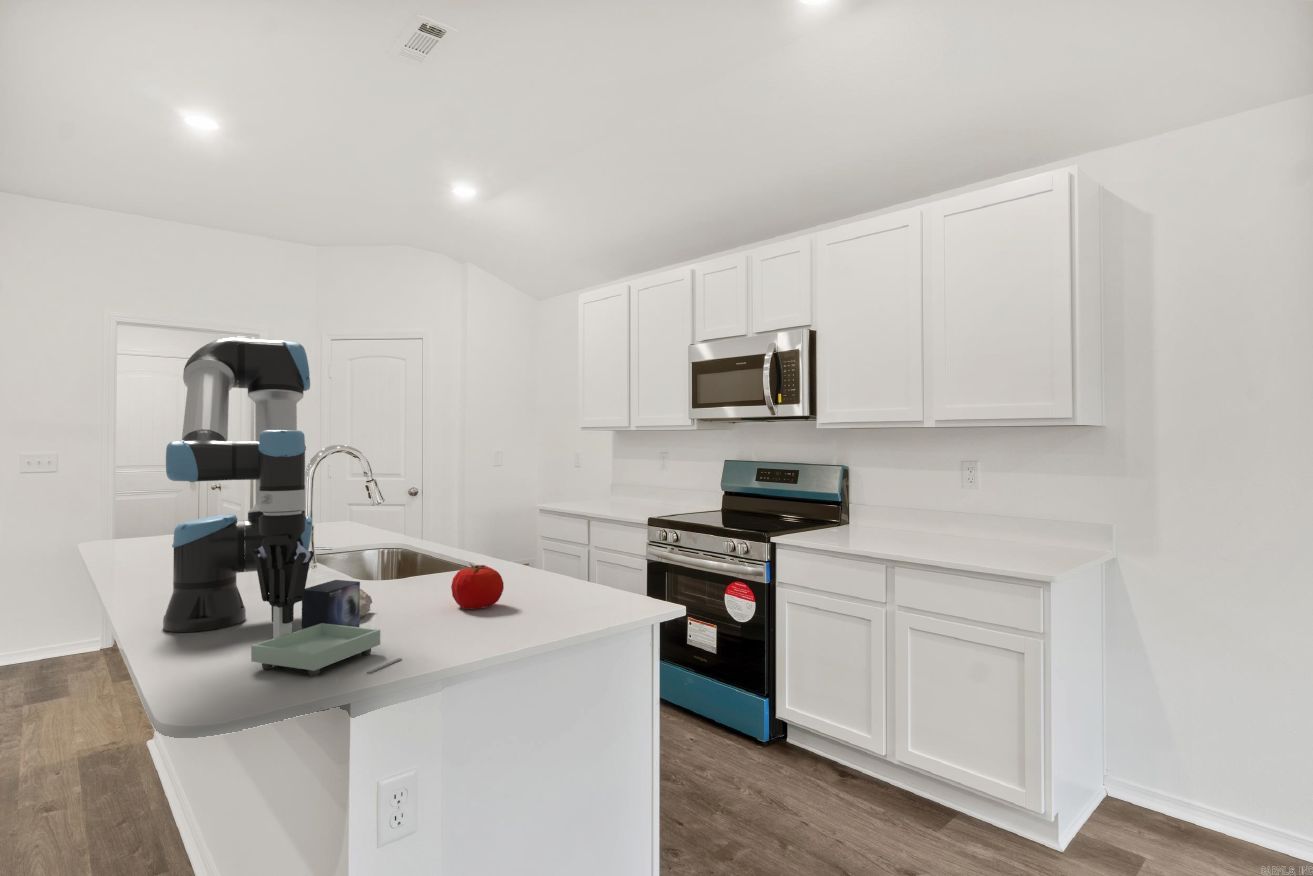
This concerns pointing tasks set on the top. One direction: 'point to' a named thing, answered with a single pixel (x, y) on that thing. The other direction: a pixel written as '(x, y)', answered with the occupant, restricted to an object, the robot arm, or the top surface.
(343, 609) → the small box
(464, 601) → the tomato
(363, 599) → the stone
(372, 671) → the strip
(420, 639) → the top surface
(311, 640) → the green footed tray
